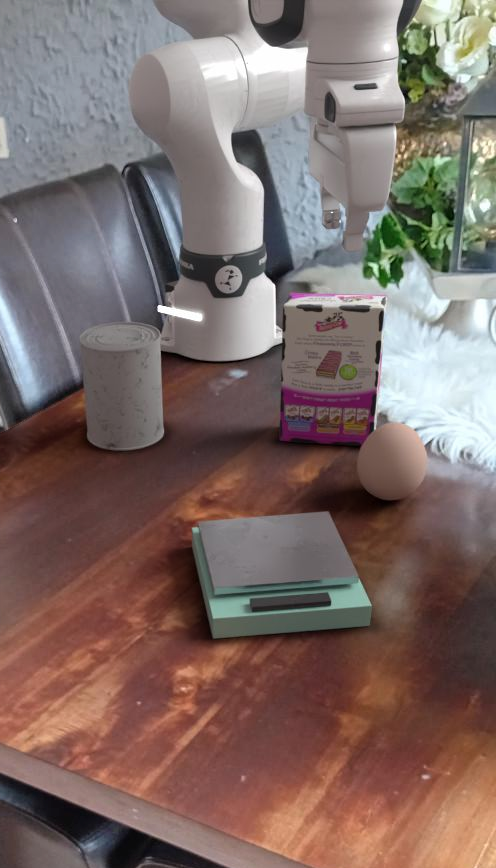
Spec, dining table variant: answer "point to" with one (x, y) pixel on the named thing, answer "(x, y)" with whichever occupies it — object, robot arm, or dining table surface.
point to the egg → (392, 461)
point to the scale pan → (275, 553)
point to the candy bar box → (331, 367)
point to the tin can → (122, 385)
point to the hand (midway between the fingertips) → (340, 238)
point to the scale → (280, 606)
